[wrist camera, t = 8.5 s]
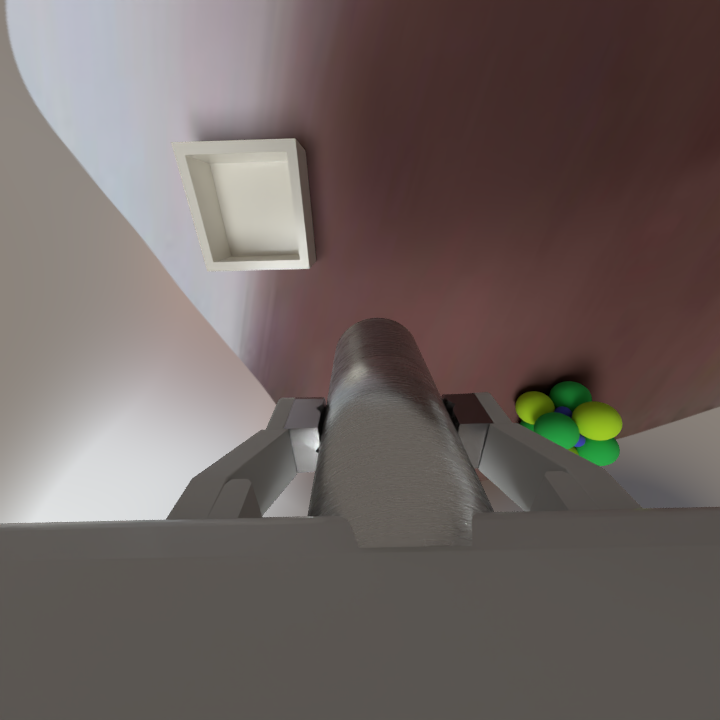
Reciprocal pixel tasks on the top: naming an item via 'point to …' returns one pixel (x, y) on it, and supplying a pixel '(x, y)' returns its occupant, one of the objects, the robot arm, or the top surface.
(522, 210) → the top surface
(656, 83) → the top surface
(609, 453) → the molecule model
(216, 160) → the cream square tray
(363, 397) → the cylinder
